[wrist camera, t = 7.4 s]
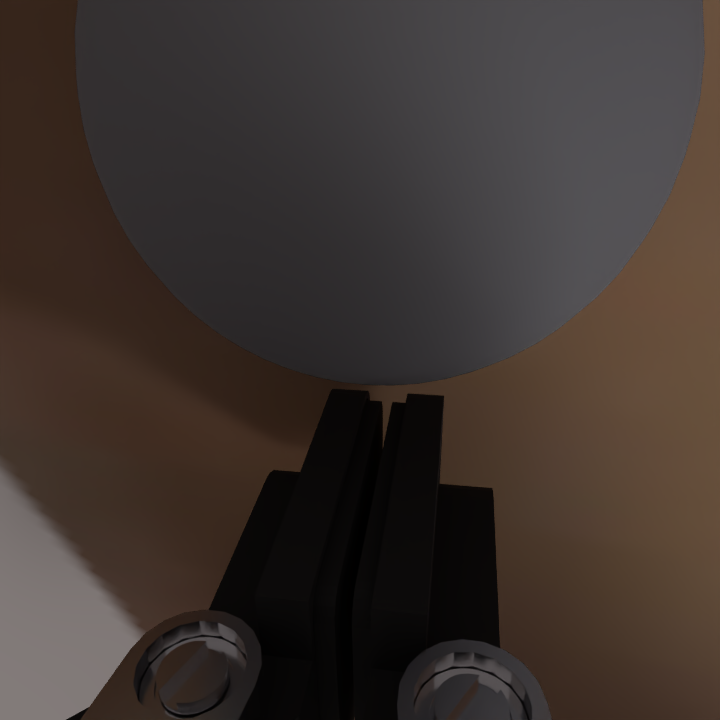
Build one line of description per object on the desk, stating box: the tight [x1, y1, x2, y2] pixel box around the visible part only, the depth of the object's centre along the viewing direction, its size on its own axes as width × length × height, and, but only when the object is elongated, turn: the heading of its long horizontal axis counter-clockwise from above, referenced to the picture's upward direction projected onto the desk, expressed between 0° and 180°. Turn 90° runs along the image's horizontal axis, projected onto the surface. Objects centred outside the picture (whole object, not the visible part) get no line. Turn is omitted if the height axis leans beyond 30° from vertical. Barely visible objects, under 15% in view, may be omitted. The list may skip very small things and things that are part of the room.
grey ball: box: [75, 0, 705, 385], centre depth 6 cm, size 6×6×6 cm
